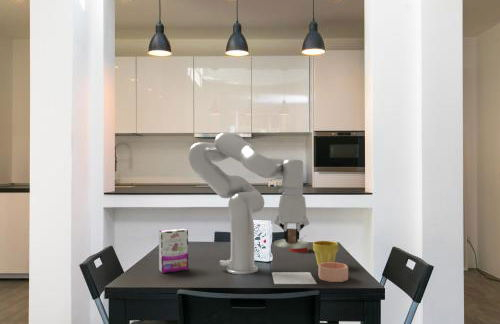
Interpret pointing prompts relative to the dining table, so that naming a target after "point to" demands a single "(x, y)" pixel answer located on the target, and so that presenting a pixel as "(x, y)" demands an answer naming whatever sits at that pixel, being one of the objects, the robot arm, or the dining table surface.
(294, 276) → the square white plate
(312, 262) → the dining table surface
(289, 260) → the dining table surface
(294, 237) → the lid
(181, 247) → the candy bar box
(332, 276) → the bowl
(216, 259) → the dining table surface
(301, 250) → the canned food
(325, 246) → the plant pot
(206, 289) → the dining table surface
